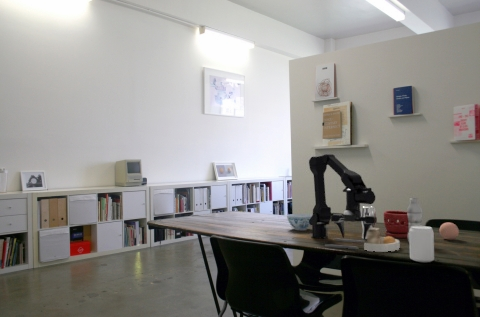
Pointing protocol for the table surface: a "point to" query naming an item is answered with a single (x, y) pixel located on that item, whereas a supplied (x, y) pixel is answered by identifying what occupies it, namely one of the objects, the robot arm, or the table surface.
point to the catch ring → (382, 246)
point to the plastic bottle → (414, 214)
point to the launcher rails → (345, 241)
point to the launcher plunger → (373, 236)
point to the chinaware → (299, 221)
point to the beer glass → (364, 212)
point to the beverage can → (421, 243)
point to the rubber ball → (388, 240)
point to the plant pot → (396, 224)
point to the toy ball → (449, 231)
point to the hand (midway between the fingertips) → (353, 238)
